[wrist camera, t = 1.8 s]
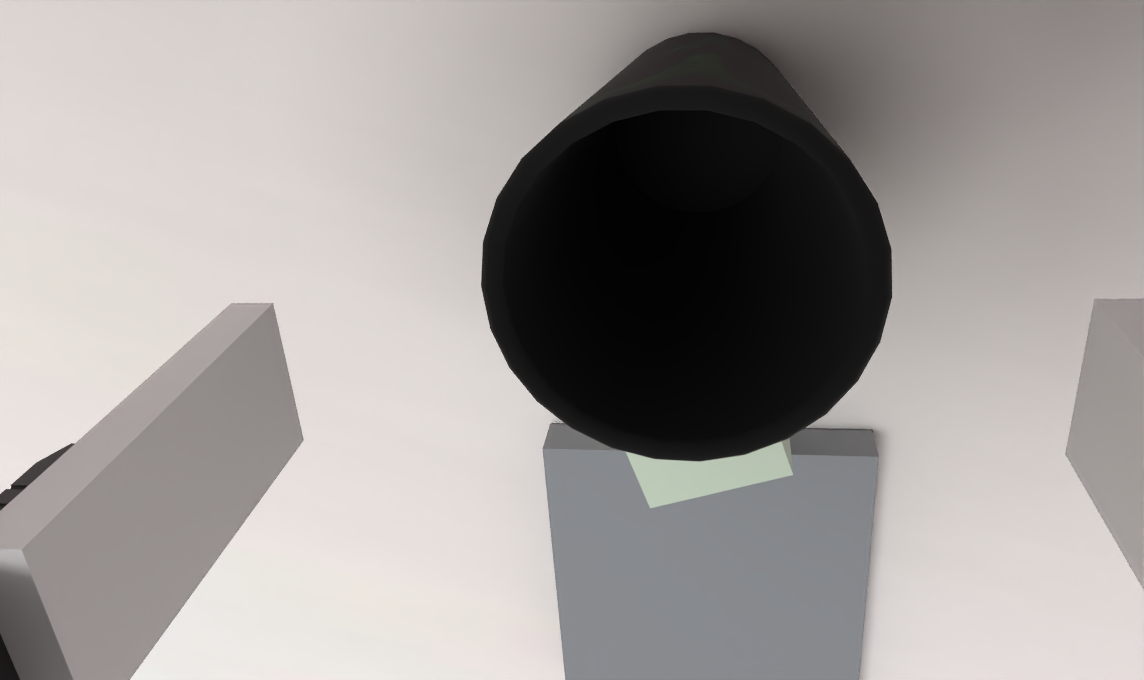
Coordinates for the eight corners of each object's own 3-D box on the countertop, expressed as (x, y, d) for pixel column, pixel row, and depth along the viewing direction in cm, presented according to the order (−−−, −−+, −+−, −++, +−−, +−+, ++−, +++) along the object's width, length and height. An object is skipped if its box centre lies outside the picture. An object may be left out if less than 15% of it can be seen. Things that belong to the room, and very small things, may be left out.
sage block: (616, 312, 32) (597, 387, 27) (744, 273, 30) (747, 346, 26) (660, 421, 33) (650, 508, 29) (784, 388, 32) (793, 474, 28)
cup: (684, 294, 31) (660, 525, 20) (520, 118, 29) (400, 272, 19) (886, 139, 28) (980, 317, 17) (716, -69, 26) (706, -13, 15)
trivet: (550, 423, 34) (542, 448, 33) (872, 430, 32) (878, 456, 31) (573, 673, 39) (567, 703, 38) (850, 689, 38) (855, 722, 36)
